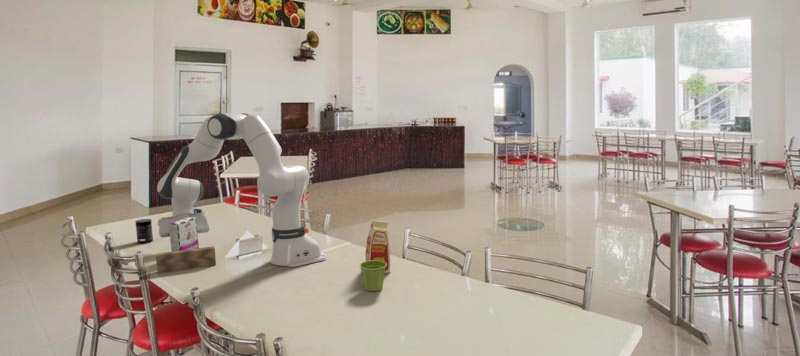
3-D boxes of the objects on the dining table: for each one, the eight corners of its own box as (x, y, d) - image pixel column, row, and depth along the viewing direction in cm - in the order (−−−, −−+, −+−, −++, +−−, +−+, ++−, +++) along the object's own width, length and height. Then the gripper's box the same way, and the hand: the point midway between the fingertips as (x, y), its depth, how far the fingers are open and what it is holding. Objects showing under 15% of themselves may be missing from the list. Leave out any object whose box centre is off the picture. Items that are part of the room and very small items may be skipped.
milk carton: (369, 274, 180) (368, 222, 177) (364, 267, 189) (363, 217, 186) (393, 272, 182) (392, 221, 179) (387, 264, 191) (386, 215, 188)
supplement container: (155, 239, 231) (153, 218, 230) (151, 243, 225) (149, 221, 223) (139, 240, 230) (137, 219, 228) (135, 244, 223) (133, 222, 222)
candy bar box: (190, 253, 208) (187, 216, 206) (199, 254, 207) (196, 217, 204) (171, 261, 198) (167, 222, 195) (181, 262, 196) (178, 223, 194)
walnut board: (215, 262, 195) (214, 246, 194) (215, 265, 193) (214, 248, 192) (157, 270, 187) (156, 253, 185) (157, 273, 184) (155, 255, 183)
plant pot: (354, 289, 166) (353, 265, 164) (372, 281, 173) (371, 258, 172) (374, 295, 160) (374, 271, 159) (392, 287, 167) (392, 263, 166)
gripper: (156, 214, 208) (158, 241, 200) (207, 209, 216) (210, 235, 209) (158, 222, 212) (159, 249, 205) (207, 217, 221) (210, 242, 214)
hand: (185, 242), depth 207 cm, fingers closed
